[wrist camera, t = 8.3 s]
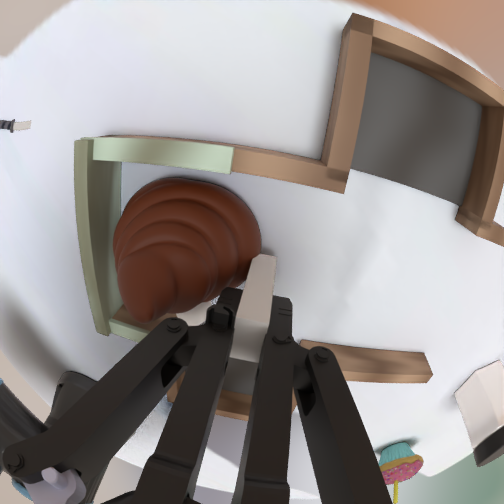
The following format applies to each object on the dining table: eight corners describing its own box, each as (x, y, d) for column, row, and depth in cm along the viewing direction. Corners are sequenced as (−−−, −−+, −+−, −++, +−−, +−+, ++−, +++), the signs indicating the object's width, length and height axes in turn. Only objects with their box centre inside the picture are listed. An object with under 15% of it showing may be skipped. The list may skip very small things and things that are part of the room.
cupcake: (361, 456, 33) (364, 515, 22) (398, 435, 29) (408, 500, 18) (392, 457, 33) (398, 509, 23) (427, 437, 30) (438, 493, 19)
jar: (445, 408, 26) (464, 475, 15) (462, 375, 22) (491, 452, 12) (491, 388, 24) (514, 447, 13) (510, 353, 20) (543, 417, 10)
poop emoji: (273, 189, 17) (258, 251, 9) (250, 298, 21) (226, 398, 12) (134, 166, 17) (37, 204, 9) (133, 269, 21) (68, 341, 13)
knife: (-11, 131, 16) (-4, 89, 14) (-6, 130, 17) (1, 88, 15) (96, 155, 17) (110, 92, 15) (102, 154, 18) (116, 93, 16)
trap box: (130, 365, 27) (116, 390, 24) (129, 21, 12) (97, 7, 9) (378, 410, 26) (383, 436, 22) (512, 115, 11) (544, 119, 7)
